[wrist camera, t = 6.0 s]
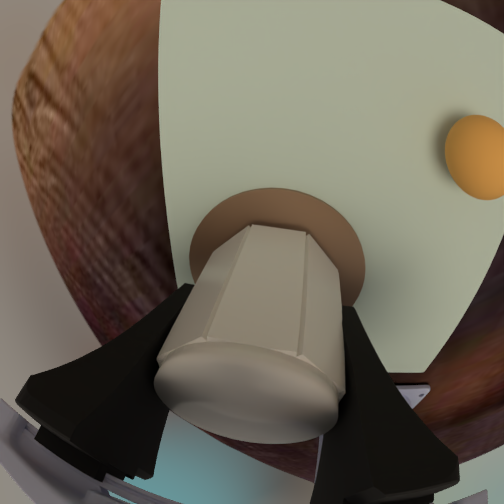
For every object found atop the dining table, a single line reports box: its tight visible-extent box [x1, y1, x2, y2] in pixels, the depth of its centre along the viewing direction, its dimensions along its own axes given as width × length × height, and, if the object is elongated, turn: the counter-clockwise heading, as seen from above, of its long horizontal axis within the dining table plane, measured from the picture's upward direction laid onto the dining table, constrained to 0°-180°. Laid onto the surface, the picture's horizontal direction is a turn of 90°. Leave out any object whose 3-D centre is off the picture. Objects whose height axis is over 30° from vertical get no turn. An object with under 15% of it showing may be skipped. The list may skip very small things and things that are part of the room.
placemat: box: [158, 0, 504, 372], centre depth 11 cm, size 20×16×1 cm
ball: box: [445, 115, 504, 200], centre depth 7 cm, size 3×3×3 cm
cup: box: [154, 224, 345, 444], centre depth 9 cm, size 5×5×6 cm
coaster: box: [189, 188, 366, 306], centre depth 12 cm, size 8×8×1 cm
